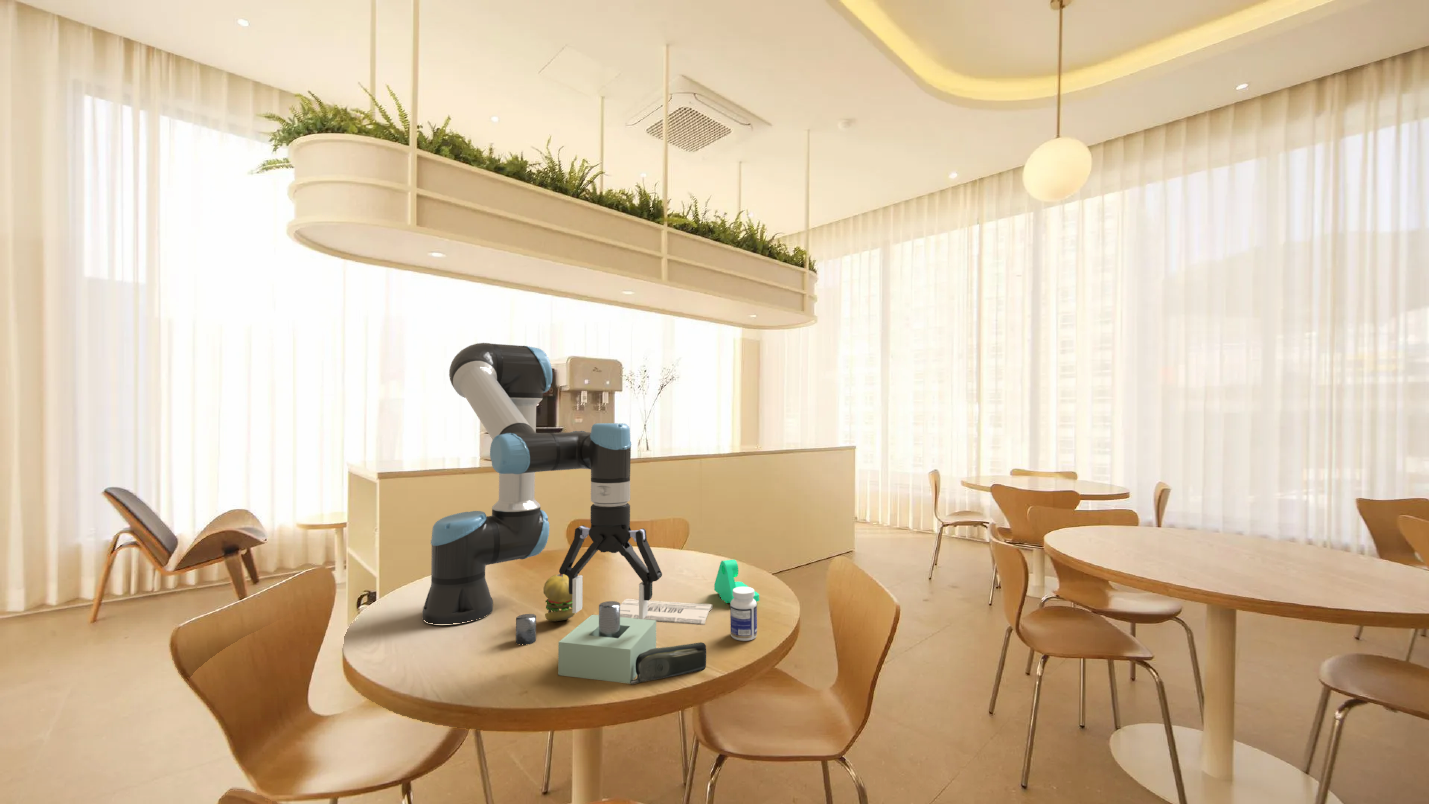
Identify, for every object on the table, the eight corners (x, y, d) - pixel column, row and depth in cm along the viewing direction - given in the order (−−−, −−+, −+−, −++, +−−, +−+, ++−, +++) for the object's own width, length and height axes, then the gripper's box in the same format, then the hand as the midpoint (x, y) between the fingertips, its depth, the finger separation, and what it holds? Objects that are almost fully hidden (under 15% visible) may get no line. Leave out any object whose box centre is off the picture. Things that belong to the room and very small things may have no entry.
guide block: (558, 675, 101) (558, 641, 101) (591, 643, 115) (592, 614, 115) (630, 683, 98) (630, 649, 98) (656, 650, 111) (656, 620, 112)
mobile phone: (702, 638, 106) (627, 652, 99) (709, 644, 104) (632, 658, 97) (701, 665, 106) (626, 680, 99) (708, 671, 103) (631, 687, 97)
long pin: (595, 665, 105) (595, 607, 105) (603, 656, 109) (604, 600, 109) (614, 668, 104) (615, 609, 104) (623, 658, 108) (623, 602, 108)
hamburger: (573, 614, 131) (574, 563, 131) (581, 624, 125) (581, 571, 125) (540, 620, 127) (540, 567, 128) (546, 631, 121) (546, 576, 121)
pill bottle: (742, 628, 123) (743, 583, 123) (762, 636, 119) (762, 589, 119) (724, 636, 119) (724, 589, 119) (744, 644, 115) (744, 596, 115)
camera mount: (760, 605, 138) (760, 564, 138) (732, 609, 135) (732, 567, 135) (740, 590, 149) (740, 552, 149) (714, 594, 146) (714, 555, 146)
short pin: (511, 644, 114) (512, 619, 114) (522, 636, 118) (522, 613, 118) (529, 646, 113) (529, 621, 113) (539, 638, 117) (539, 614, 117)
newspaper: (713, 608, 137) (713, 598, 137) (704, 632, 125) (704, 622, 125) (626, 602, 141) (625, 592, 141) (609, 625, 129) (608, 615, 129)
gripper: (541, 503, 106) (540, 615, 105) (666, 509, 100) (665, 626, 100) (561, 497, 113) (560, 601, 113) (678, 502, 108) (677, 612, 107)
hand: (609, 613), depth 106 cm, fingers open, 13 cm apart
